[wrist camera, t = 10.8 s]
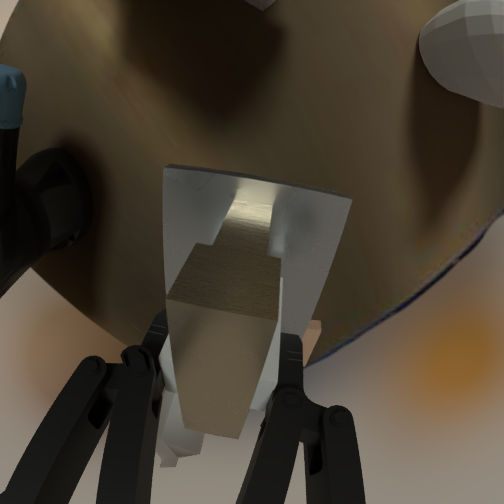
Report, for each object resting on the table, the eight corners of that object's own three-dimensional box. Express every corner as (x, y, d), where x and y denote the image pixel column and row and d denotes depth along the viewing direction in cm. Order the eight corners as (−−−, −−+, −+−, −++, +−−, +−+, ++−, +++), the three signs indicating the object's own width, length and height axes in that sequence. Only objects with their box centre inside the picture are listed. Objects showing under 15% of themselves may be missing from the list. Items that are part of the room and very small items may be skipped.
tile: (259, 310, 39) (252, 348, 43) (258, 321, 37) (250, 358, 41) (320, 319, 38) (304, 355, 43) (321, 330, 36) (304, 366, 41)
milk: (179, 351, 46) (140, 459, 27) (194, 337, 43) (153, 458, 24) (207, 366, 47) (177, 473, 28) (224, 354, 44) (195, 473, 26)
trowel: (169, 163, 14) (59, 244, 6) (349, 194, 14) (411, 309, 6) (172, 317, 20) (130, 416, 13) (297, 341, 20) (295, 450, 13)
